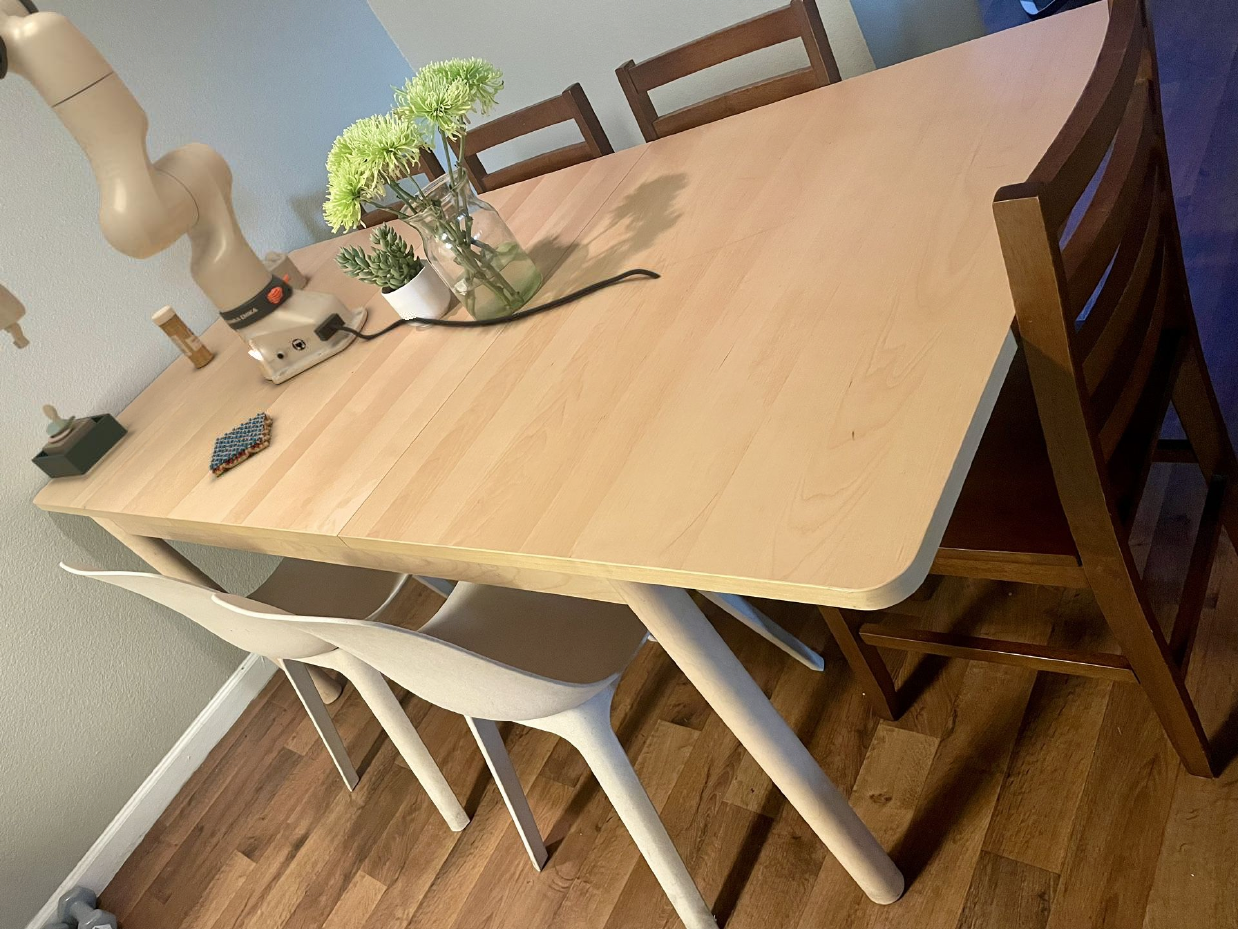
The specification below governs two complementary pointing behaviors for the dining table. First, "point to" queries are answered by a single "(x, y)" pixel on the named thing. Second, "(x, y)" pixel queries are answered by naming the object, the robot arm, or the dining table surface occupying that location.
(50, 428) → the pacifier
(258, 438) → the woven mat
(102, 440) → the crate
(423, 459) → the dining table surface
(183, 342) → the sprinkles bottle
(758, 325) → the dining table surface
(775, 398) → the dining table surface
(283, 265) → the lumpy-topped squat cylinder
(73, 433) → the block
